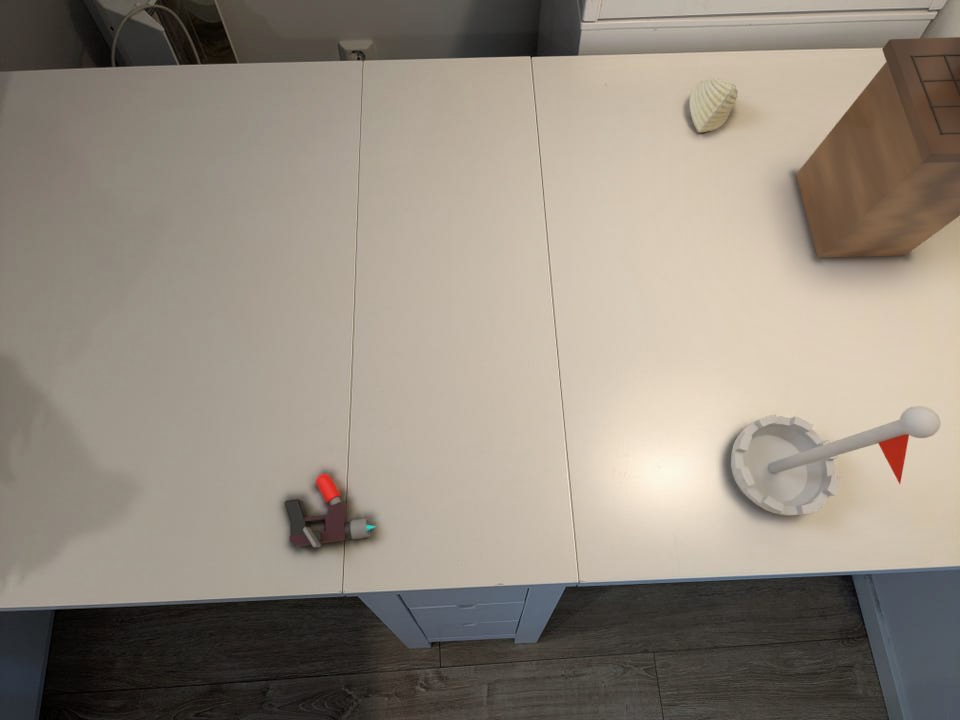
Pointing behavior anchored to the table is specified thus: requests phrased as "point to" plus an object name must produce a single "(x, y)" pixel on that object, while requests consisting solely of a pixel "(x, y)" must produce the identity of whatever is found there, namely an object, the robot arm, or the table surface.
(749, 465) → the flag stand
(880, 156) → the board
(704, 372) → the table surface
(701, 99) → the seashell
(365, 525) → the toy gun
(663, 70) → the table surface
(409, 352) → the table surface
